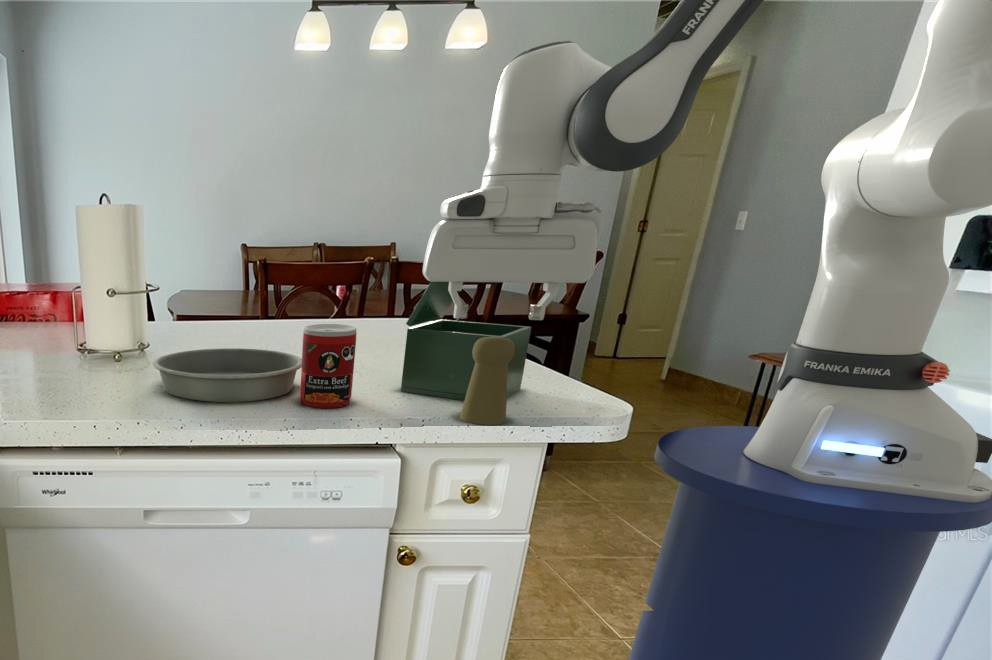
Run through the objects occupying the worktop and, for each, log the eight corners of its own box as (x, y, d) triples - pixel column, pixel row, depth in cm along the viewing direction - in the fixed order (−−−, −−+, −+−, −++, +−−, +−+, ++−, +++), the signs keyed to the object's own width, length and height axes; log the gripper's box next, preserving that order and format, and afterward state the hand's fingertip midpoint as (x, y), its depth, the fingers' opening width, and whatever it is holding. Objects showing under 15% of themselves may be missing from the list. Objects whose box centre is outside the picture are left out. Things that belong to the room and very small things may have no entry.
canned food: (299, 408, 105) (303, 331, 100) (299, 395, 112) (303, 323, 107) (352, 409, 104) (358, 332, 99) (349, 396, 111) (355, 323, 106)
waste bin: (520, 389, 114) (531, 326, 110) (492, 404, 105) (503, 337, 101) (432, 378, 123) (440, 319, 119) (400, 391, 114) (407, 328, 110)
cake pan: (293, 371, 129) (294, 346, 127) (311, 405, 106) (313, 374, 104) (158, 372, 129) (157, 347, 127) (148, 405, 107) (147, 375, 105)
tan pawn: (461, 423, 96) (473, 340, 92) (457, 412, 102) (468, 333, 97) (509, 425, 95) (524, 341, 90) (502, 414, 100) (516, 334, 96)
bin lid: (499, 227, 108) (472, 211, 110) (467, 229, 100) (439, 212, 101) (442, 317, 118) (418, 301, 120) (409, 326, 110) (384, 309, 111)
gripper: (599, 202, 88) (574, 317, 94) (428, 203, 92) (415, 314, 97) (617, 201, 83) (590, 323, 88) (435, 202, 86) (420, 320, 92)
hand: (497, 318), depth 93 cm, fingers open, 8 cm apart
